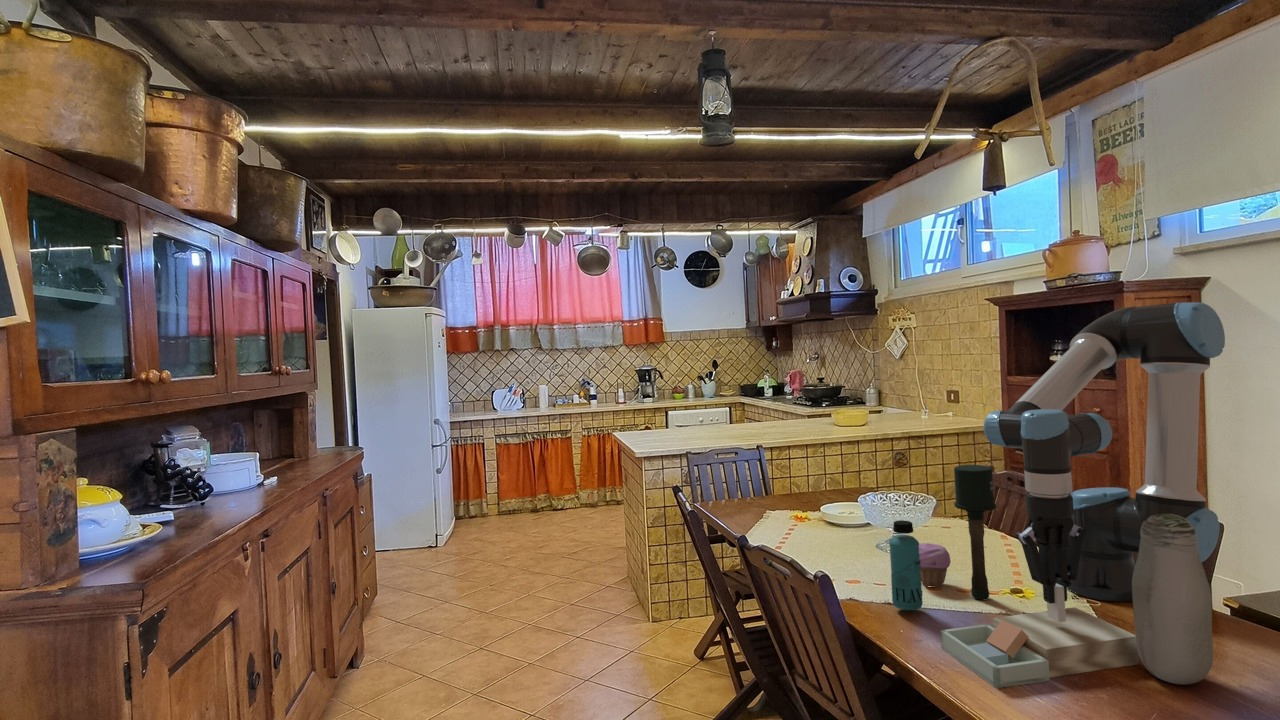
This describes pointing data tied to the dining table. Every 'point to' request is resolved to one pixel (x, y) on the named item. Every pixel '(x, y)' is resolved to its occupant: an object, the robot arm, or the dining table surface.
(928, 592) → the dining table surface
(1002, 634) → the tile terracotta
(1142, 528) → the grey tall rounded cylinder
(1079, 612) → the board
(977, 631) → the tray
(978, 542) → the potato masher grenade
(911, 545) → the beverage bottle
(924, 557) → the cupcake
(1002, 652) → the tile slate
